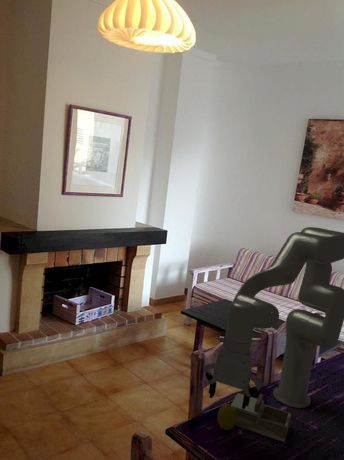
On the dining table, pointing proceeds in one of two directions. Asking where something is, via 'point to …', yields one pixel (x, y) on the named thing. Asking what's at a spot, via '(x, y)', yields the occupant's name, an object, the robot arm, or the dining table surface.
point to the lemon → (227, 417)
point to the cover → (253, 405)
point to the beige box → (266, 422)
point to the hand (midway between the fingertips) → (227, 401)
